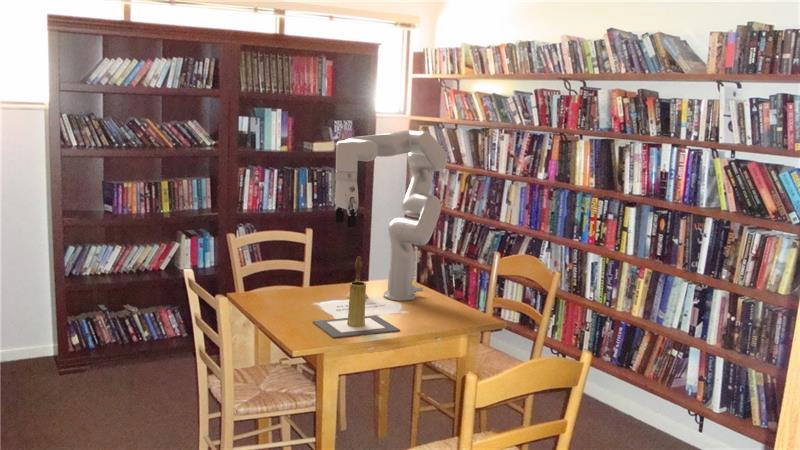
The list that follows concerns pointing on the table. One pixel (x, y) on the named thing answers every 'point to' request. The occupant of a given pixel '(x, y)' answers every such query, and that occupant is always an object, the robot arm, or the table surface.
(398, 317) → the table surface
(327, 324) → the grey picture frame
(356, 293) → the vase
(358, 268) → the hand bell
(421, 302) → the table surface
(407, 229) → the robot arm
